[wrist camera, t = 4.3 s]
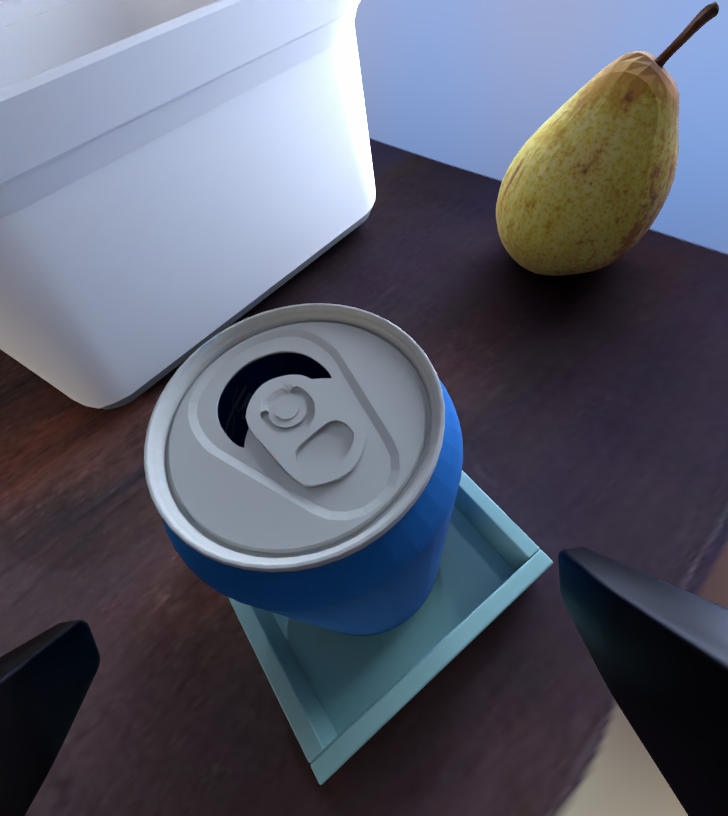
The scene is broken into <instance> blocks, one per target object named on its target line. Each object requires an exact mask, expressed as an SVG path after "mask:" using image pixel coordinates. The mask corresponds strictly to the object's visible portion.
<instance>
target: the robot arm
mask: <svg viewBox="0 0 728 816" xmlns="http://www.w3.org/2000/svg"><path fill="white" fill-rule="evenodd" d="M558 562H559V578H560V591H561V595H562V598H563V601H564V603H565V605H566V607H567V609H568V611H569V613H570V615H571V617H572V619H573V621H574V623H575V625H576V627H577V629H578V631H579V633H580V635H581V637H582V639H583V641H584V642H585V644H586V646H587V648H588V650H589V652H590V654H591V656H592V658H593V660H594V662H595V664H596V666H597V668H598V670H599V672H600V674H601V676H602V677H603V679H604V681H605V683H606V685H607V687H608V689H609V690H610V692H611V694H612V695H613V697H614V699H615V700H616V702H617V704H618V705H619V707H620V708H621V710H622V711H623V713H624V715H625V716H626V718H627V719H628V721H629V723H630V724H631V726H632V727H633V729H634V730H635V732H636V734H637V735H638V737H639V738H640V740H641V742H642V743H643V745H644V746H645V748H646V749H647V751H648V753H649V754H650V756H651V757H652V759H653V760H654V762H655V763H656V765H657V767H658V768H659V770H660V772H661V773H662V775H663V776H664V778H665V779H666V781H667V783H668V784H669V785H670V787H671V789H672V790H673V792H674V794H675V795H676V797H677V798H678V800H679V801H680V803H681V805H682V806H683V808H684V809H685V811H686V812H687V814H688V816H728V609H727V608H725V607H723V606H720V605H718V604H715V603H713V602H711V601H709V600H706V599H704V598H702V597H699V596H697V595H695V594H692V593H690V592H688V591H685V590H683V589H681V588H678V587H676V586H674V585H671V584H669V583H666V582H664V581H662V580H659V579H657V578H655V577H652V576H650V575H648V574H645V573H643V572H641V571H638V570H636V569H634V568H631V567H629V566H627V565H624V564H622V563H620V562H617V561H615V560H612V559H610V558H608V557H605V556H603V555H601V554H598V553H596V552H594V551H591V550H589V549H587V548H584V547H576V548H570V549H563V550H561V551H560V552H559V556H558ZM99 661H100V655H99V651H98V649H97V646H96V643H95V641H94V638H93V635H92V633H91V630H90V627H89V625H88V623H86V622H85V621H84V620H75V621H68V622H62V623H59V624H57V625H55V626H53V627H52V628H50V629H48V630H47V631H45V632H43V633H41V634H40V635H38V636H36V637H35V638H33V639H31V640H29V641H28V642H26V643H24V644H22V645H21V646H19V647H17V648H16V649H14V650H12V651H10V652H9V653H7V654H5V655H4V656H2V657H0V816H25V814H26V812H27V810H28V809H29V807H30V805H31V803H32V801H33V800H34V798H35V796H36V794H37V792H38V791H39V789H40V787H41V785H42V784H43V782H44V780H45V778H46V776H47V774H48V772H49V770H50V769H51V767H52V765H53V763H54V761H55V759H56V757H57V755H58V753H59V751H60V749H61V747H62V744H63V742H64V740H65V738H66V736H67V734H68V732H69V729H70V727H71V725H72V723H73V721H74V719H75V717H76V715H77V712H78V710H79V708H80V706H81V704H82V702H83V700H84V698H85V695H86V693H87V691H88V689H89V687H90V685H91V683H92V680H93V678H94V676H95V674H96V672H97V669H98V666H99Z"/></svg>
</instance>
